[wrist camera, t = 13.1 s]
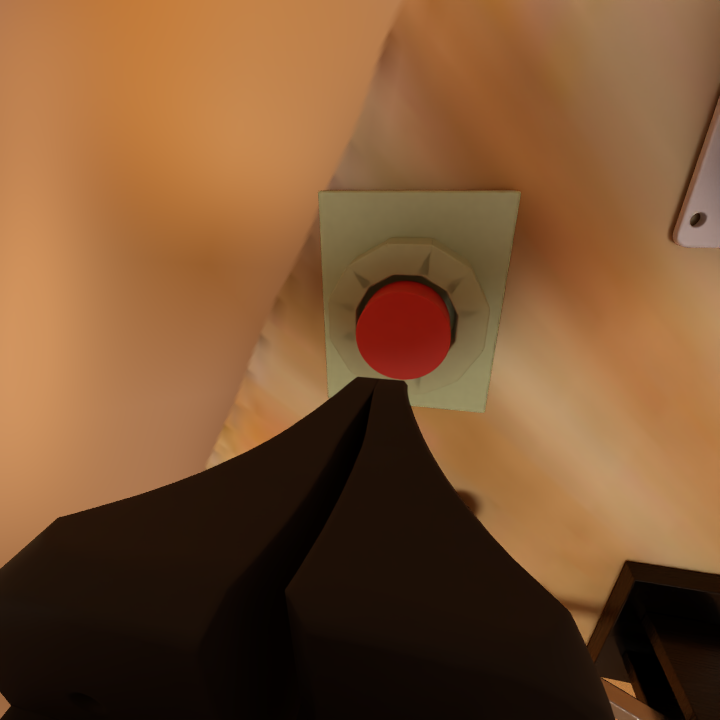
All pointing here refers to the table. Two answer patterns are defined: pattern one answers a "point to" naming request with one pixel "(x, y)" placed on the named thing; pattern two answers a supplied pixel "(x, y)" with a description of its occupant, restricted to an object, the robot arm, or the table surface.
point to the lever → (629, 705)
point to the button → (404, 330)
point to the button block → (419, 278)
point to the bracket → (663, 639)
